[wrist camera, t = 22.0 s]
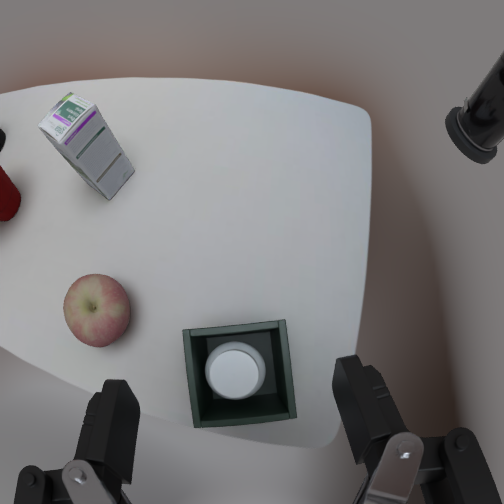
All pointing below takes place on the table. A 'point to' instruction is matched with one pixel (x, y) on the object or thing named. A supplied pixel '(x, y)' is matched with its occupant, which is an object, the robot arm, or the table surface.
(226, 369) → the pill bottle
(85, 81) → the table surface
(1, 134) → the mug
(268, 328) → the trash can
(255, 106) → the table surface
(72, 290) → the apple
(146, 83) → the table surface
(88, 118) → the syrup box
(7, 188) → the plastic cup
